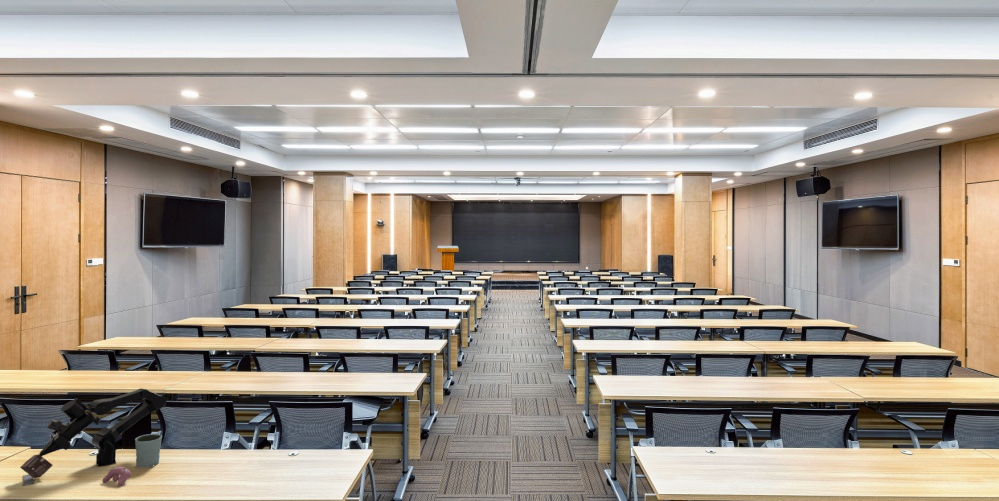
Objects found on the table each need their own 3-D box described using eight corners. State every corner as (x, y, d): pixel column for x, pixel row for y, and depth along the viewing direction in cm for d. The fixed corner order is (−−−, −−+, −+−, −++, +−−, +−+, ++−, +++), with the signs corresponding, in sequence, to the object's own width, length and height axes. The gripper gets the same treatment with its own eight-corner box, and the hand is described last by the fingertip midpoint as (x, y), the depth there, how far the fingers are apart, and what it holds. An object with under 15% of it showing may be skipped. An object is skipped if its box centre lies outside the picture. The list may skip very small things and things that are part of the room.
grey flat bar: (33, 474, 232) (33, 473, 232) (33, 483, 223) (33, 483, 223) (23, 476, 230) (23, 475, 230) (23, 485, 221) (23, 485, 221)
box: (40, 478, 225) (25, 466, 222) (33, 478, 228) (19, 467, 225) (53, 465, 230) (39, 453, 227) (47, 465, 232) (33, 454, 229)
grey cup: (155, 458, 253) (156, 432, 253) (165, 463, 247) (166, 437, 247) (130, 465, 245) (131, 437, 245) (140, 470, 239) (140, 442, 239)
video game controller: (127, 487, 225) (135, 469, 228) (117, 486, 221) (125, 467, 225) (109, 483, 228) (117, 465, 232) (100, 482, 225) (108, 464, 228)
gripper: (61, 408, 240) (23, 436, 231) (65, 416, 226) (25, 446, 218) (81, 426, 244) (44, 454, 236) (85, 434, 231) (47, 465, 222)
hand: (40, 454), depth 228 cm, fingers closed
